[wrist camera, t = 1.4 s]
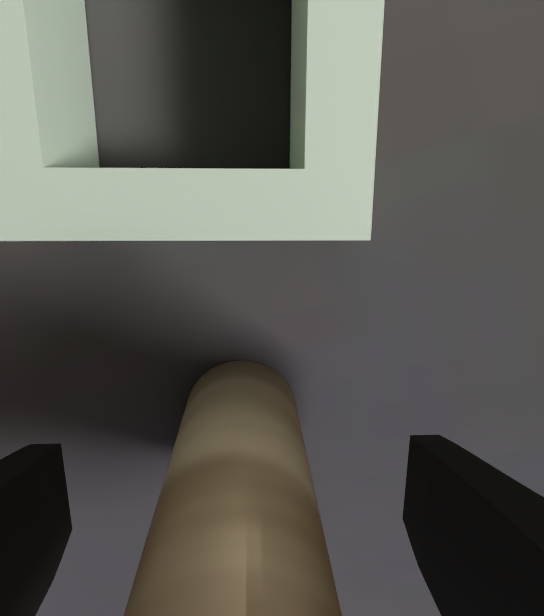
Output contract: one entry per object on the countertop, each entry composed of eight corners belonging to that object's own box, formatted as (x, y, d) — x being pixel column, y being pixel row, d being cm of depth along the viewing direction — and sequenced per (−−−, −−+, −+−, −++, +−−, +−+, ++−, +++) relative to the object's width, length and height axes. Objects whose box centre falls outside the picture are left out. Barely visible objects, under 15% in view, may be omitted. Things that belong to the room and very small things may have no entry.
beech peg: (295, 457, 13) (393, 1035, 4) (189, 460, 13) (52, 1068, 4) (296, 359, 12) (422, 807, 3) (183, 361, 12) (0, 835, 3)
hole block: (338, 228, 11) (370, 240, 8) (52, 227, 11) (-21, 241, 8) (352, -110, 9) (399, -247, 6) (10, -122, 9) (-103, -272, 6)
